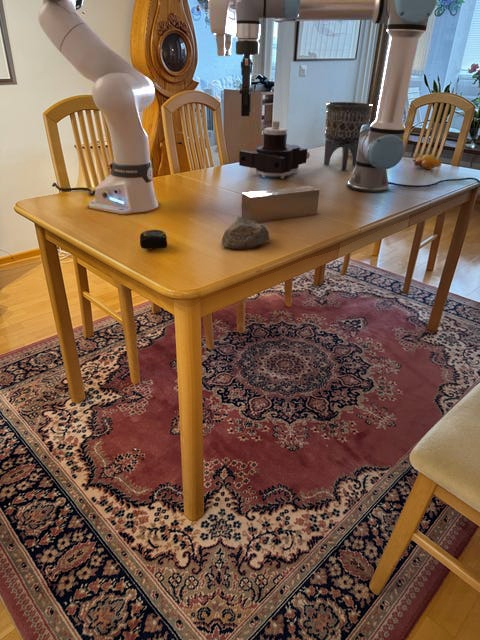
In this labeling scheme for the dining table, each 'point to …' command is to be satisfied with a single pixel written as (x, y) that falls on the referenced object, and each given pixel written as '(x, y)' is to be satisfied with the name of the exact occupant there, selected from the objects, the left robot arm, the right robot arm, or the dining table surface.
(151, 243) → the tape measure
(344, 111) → the planter
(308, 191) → the bar
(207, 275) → the dining table surface
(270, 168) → the mechanical component
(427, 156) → the toy
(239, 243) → the rock
